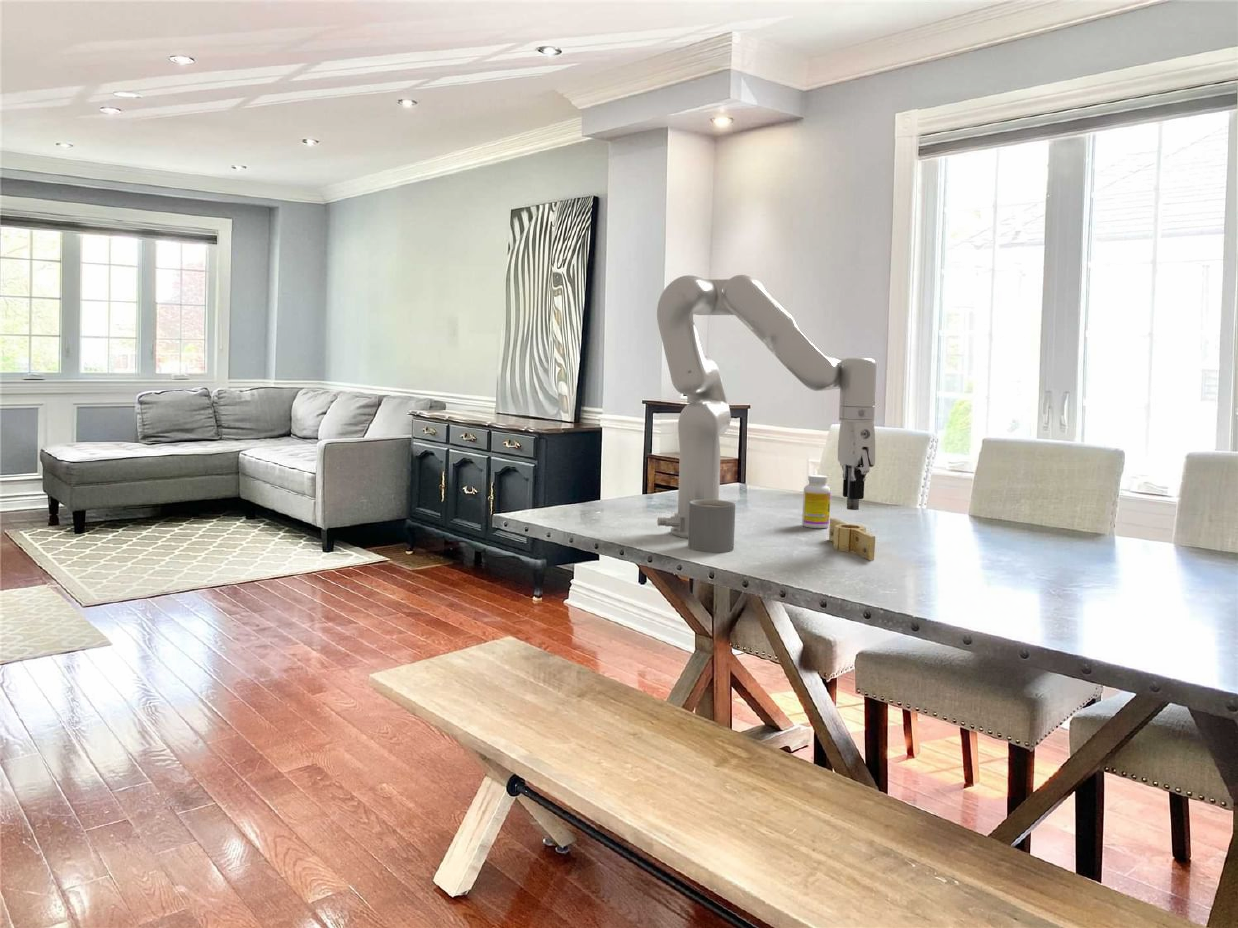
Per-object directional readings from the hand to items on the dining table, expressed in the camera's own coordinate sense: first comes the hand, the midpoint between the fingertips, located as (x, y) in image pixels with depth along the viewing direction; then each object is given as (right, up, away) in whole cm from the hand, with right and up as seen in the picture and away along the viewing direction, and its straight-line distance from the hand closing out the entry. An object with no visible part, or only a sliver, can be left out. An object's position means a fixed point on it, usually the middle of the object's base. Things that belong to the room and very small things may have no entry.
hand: (853, 497), depth 206 cm
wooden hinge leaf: (-2, -11, +8) cm, 14 cm away
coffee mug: (-31, -11, 0) cm, 33 cm away
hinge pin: (0, -3, 0) cm, 3 cm away
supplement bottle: (-2, -9, +28) cm, 30 cm away
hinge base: (0, -12, -2) cm, 12 cm away
